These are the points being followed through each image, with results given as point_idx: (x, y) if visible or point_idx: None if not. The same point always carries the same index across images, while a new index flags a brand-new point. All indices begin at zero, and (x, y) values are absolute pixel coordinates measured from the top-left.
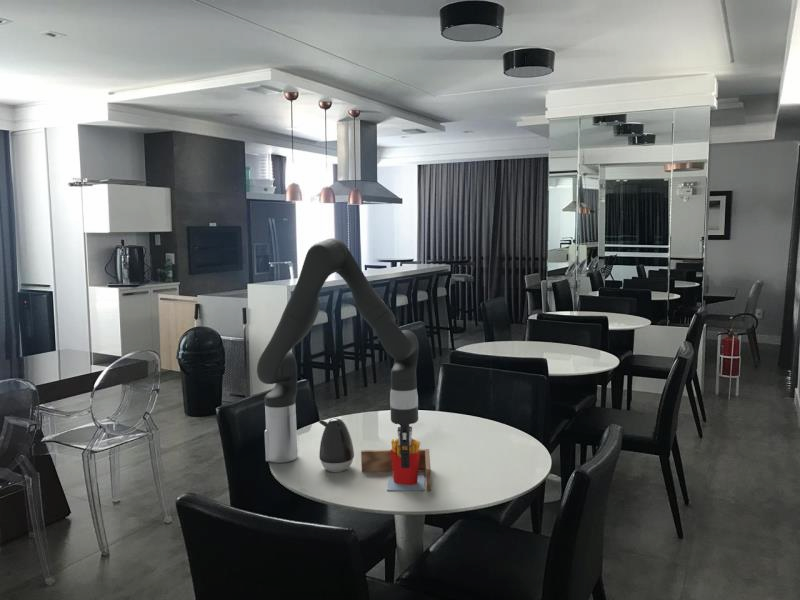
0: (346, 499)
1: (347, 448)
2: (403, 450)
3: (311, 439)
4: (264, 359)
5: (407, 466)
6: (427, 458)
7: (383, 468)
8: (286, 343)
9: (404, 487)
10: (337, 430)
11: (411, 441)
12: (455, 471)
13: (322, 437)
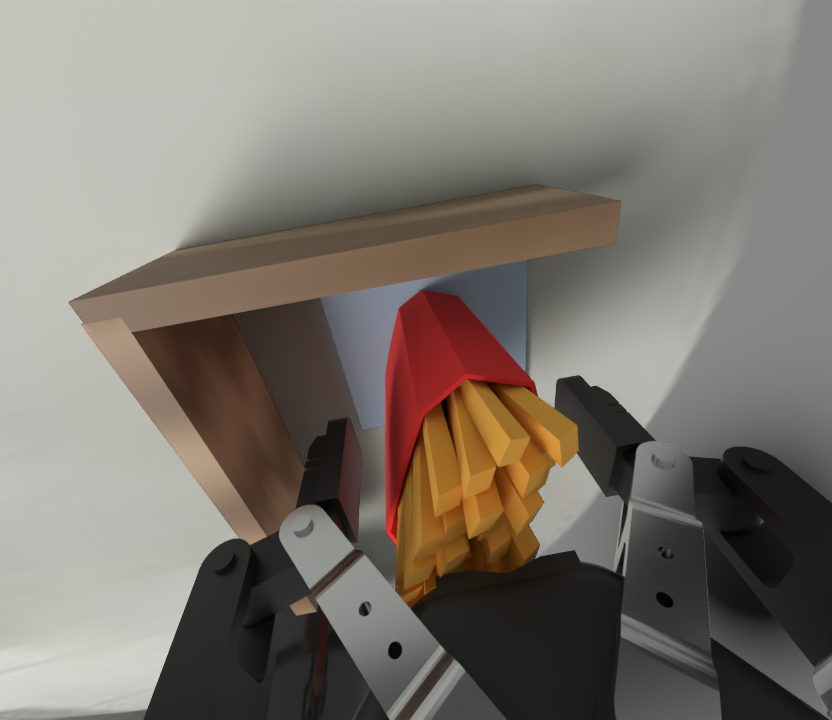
0: (584, 491)
1: (342, 660)
2: (763, 523)
3: (91, 684)
4: None
5: (597, 389)
6: (343, 275)
7: (297, 468)
8: None
9: (498, 338)
10: None
11: (462, 525)
12: (121, 7)
13: None
